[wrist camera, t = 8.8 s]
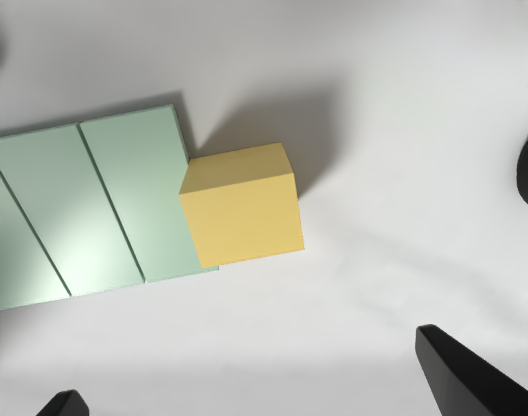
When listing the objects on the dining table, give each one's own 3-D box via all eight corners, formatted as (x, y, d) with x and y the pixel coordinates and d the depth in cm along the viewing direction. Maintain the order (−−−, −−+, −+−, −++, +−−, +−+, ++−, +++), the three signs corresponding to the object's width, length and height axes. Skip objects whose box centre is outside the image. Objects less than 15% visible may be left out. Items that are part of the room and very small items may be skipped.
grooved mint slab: (297, 247, 22) (311, 296, 18) (7, 301, 22) (-44, 361, 18) (272, 84, 17) (283, 101, 13) (-96, 155, 17) (-194, 192, 13)
